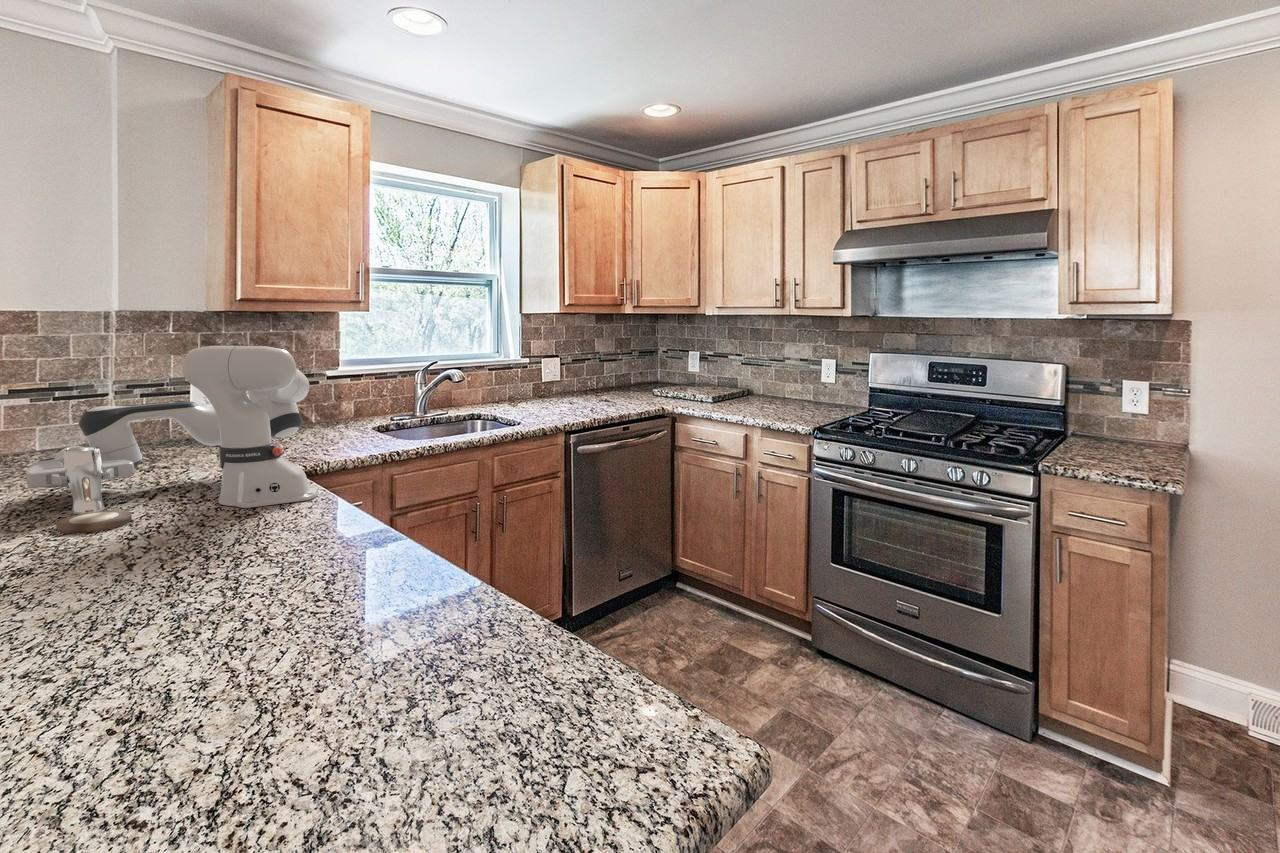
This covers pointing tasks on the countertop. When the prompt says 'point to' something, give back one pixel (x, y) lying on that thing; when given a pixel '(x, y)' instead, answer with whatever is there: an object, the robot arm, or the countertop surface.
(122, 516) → the walnut board
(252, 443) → the robot arm
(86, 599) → the countertop surface
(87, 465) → the beer glass
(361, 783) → the countertop surface
